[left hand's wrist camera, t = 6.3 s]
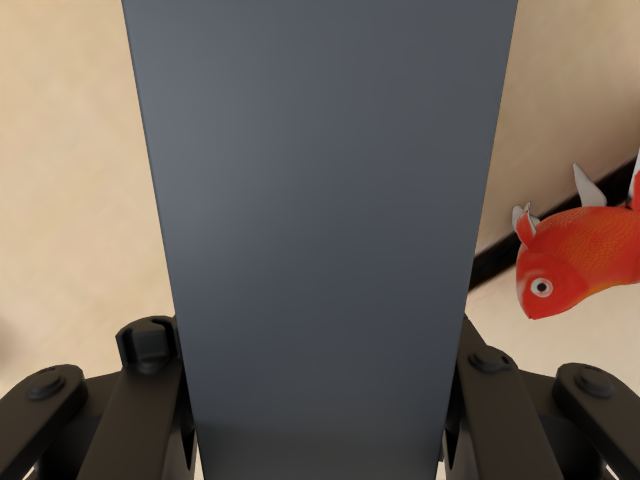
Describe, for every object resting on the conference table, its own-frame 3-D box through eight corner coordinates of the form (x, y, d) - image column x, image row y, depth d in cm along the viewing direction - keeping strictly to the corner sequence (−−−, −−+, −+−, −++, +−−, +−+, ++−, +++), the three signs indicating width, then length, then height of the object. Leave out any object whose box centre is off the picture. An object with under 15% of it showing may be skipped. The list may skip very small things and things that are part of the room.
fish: (435, 177, 18) (690, 261, 11) (612, 31, 22) (901, 17, 14) (462, 300, 25) (632, 405, 17) (595, 173, 28) (785, 215, 21)
